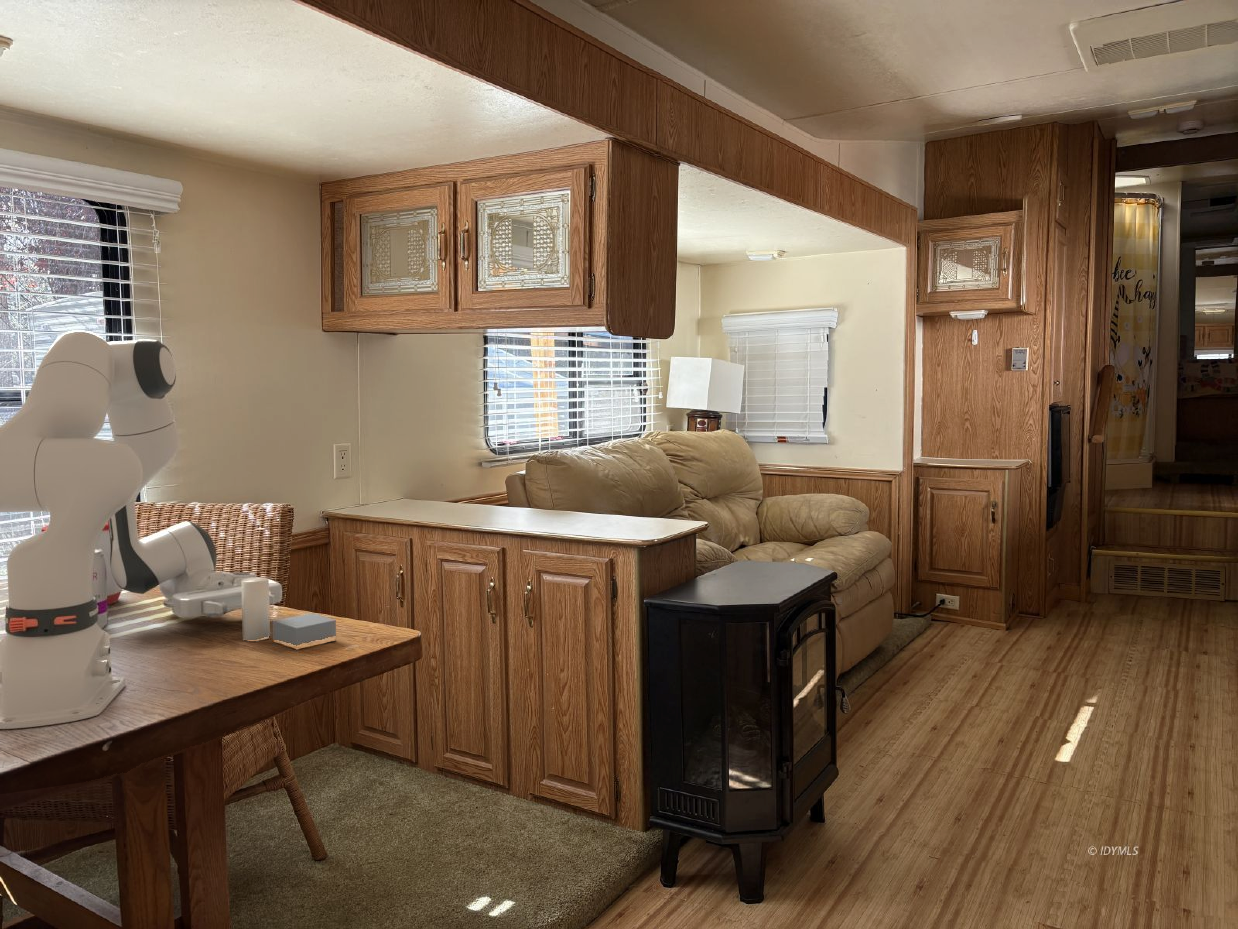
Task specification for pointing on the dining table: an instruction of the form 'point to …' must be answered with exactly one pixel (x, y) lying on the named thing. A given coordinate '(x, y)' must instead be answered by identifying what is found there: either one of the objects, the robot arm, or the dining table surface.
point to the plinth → (303, 628)
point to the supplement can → (100, 587)
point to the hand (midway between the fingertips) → (248, 605)
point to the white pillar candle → (255, 608)
